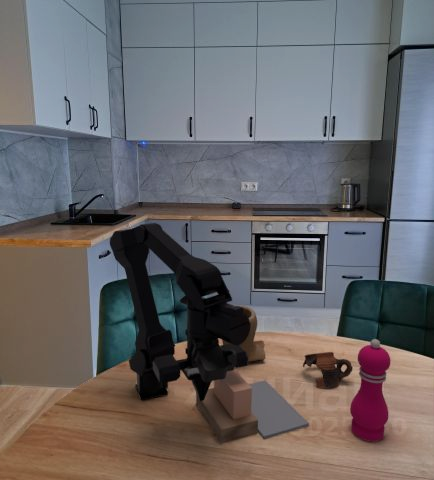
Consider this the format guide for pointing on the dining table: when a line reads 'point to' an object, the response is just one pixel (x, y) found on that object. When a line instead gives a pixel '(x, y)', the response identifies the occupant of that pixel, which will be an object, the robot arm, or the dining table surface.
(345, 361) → the pottery mug
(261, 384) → the mat
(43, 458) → the dining table surface
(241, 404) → the salmon pink block
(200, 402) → the ledge
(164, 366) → the robot arm
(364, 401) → the pepper mill
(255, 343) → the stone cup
